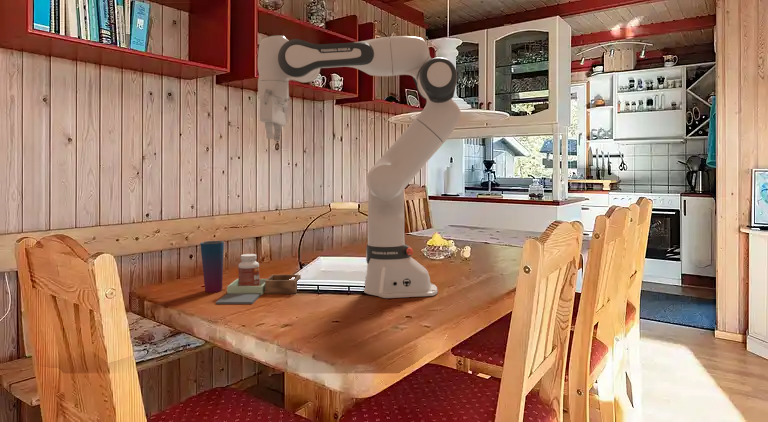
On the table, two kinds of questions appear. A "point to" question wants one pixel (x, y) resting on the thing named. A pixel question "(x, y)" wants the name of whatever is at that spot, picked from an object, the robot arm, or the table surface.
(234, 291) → the rim tray
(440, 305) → the table surface
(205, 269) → the cup
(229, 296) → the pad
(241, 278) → the pill bottle
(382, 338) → the table surface
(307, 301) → the table surface
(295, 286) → the crate
